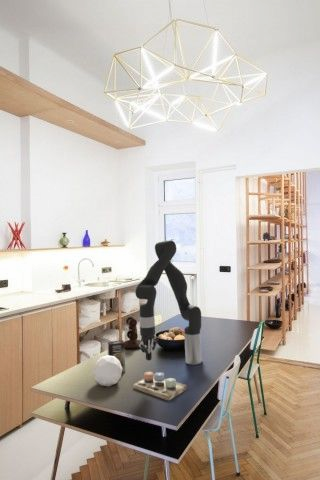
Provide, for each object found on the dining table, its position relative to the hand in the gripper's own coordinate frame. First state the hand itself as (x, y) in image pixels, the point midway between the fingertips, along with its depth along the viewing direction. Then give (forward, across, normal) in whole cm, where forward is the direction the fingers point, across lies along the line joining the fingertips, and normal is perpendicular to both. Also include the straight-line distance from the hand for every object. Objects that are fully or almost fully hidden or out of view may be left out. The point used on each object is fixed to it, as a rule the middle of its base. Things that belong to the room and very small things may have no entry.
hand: (148, 359), depth 165 cm
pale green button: (+9, 0, +14) cm, 16 cm away
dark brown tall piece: (+13, -40, -52) cm, 67 cm away
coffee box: (+13, -4, -28) cm, 31 cm away
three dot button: (+8, 0, +7) cm, 10 cm away
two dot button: (+9, 0, 0) cm, 9 cm away
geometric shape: (+13, +11, -18) cm, 25 cm away
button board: (+13, 0, +7) cm, 14 cm away
